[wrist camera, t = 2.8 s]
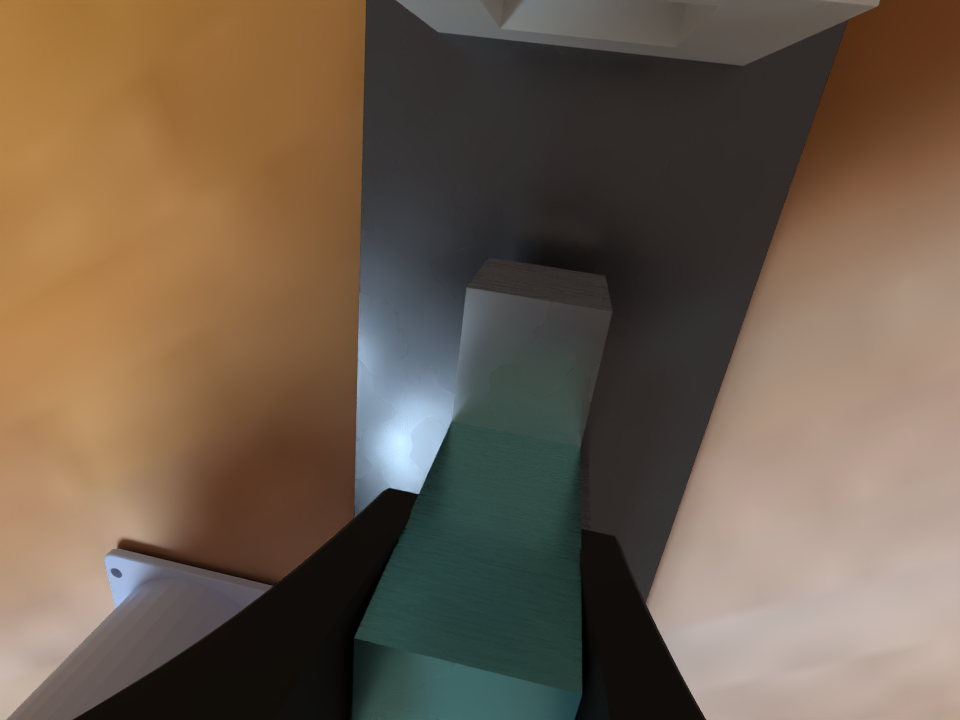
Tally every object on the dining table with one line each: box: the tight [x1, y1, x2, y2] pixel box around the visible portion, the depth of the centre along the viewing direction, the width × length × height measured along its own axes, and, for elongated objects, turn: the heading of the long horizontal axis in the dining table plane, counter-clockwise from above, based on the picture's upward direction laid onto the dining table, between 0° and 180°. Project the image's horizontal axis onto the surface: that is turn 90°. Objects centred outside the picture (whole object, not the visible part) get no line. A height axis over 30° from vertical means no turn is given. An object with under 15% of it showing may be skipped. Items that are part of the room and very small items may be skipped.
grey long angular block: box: [354, 0, 848, 603], centre depth 13 cm, size 25×10×6 cm, turn 173°
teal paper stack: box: [352, 257, 612, 720], centre depth 11 cm, size 16×3×8 cm, turn 173°
